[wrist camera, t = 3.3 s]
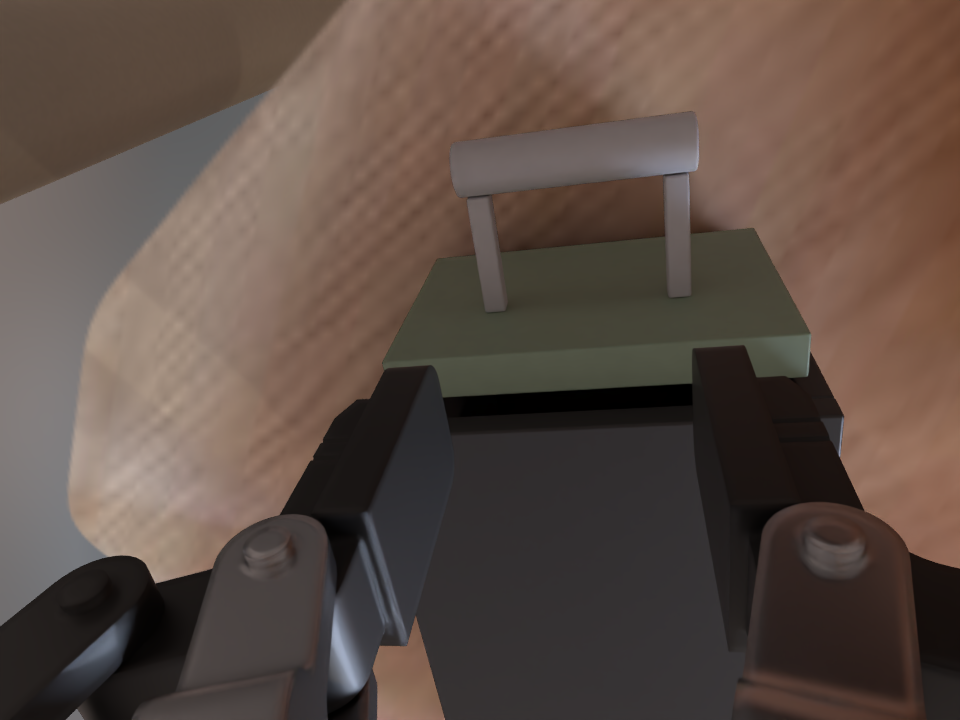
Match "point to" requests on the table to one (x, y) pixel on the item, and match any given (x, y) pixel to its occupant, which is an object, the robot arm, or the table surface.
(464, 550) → the cabinet
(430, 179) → the table surface
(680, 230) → the drawer
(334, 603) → the robot arm
